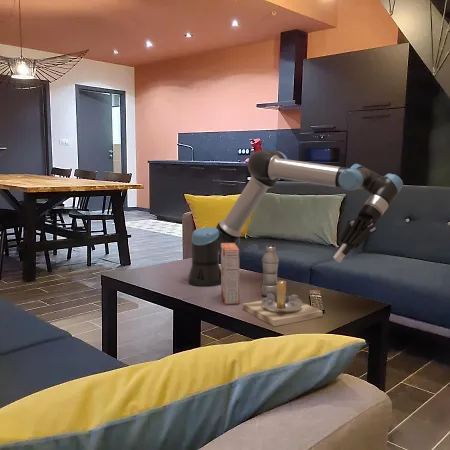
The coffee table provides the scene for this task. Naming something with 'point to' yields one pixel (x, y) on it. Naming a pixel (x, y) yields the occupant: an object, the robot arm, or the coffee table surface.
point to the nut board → (281, 314)
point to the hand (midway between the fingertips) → (336, 260)
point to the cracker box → (230, 273)
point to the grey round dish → (281, 300)
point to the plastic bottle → (270, 271)
